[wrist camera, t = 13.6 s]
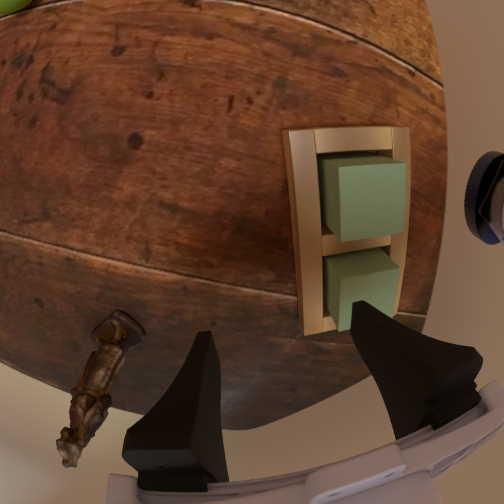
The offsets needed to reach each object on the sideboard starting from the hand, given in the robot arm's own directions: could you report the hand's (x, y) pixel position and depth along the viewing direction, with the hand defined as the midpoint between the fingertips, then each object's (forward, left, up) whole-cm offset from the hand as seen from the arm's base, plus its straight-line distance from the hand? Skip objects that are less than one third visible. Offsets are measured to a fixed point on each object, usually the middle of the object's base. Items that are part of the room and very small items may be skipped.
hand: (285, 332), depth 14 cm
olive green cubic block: (-7, -2, -9) cm, 12 cm away
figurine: (+8, +13, -10) cm, 18 cm away
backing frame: (-5, -5, -9) cm, 12 cm away
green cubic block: (-3, -8, -9) cm, 12 cm away
